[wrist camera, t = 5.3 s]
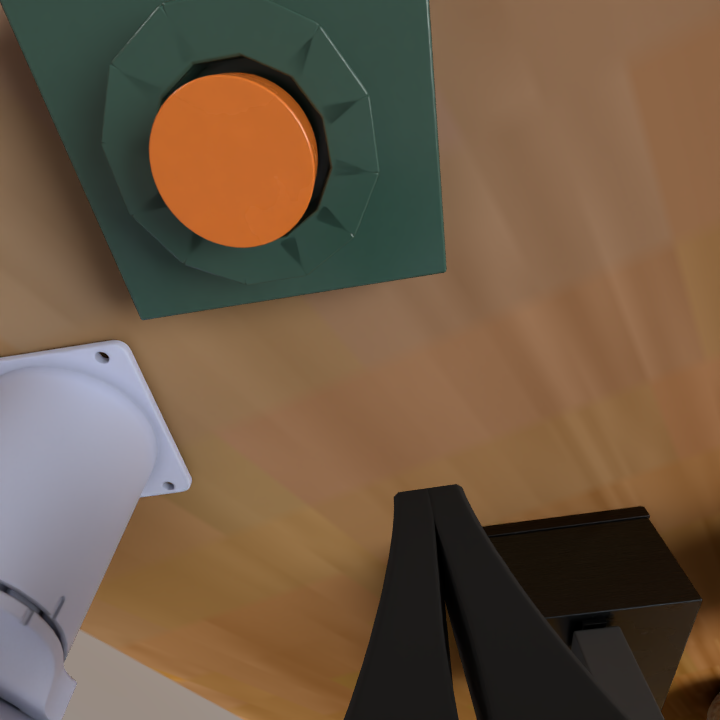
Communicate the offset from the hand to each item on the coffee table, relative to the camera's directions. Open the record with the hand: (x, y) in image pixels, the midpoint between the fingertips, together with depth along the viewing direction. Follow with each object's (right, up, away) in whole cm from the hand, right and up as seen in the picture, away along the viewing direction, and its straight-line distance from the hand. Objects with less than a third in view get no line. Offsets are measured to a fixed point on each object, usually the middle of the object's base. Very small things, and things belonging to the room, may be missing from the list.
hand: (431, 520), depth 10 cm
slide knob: (+9, -9, +11) cm, 17 cm away
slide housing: (+10, -11, +19) cm, 23 cm away
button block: (-4, +10, +5) cm, 12 cm away
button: (-4, +9, +2) cm, 10 cm away
